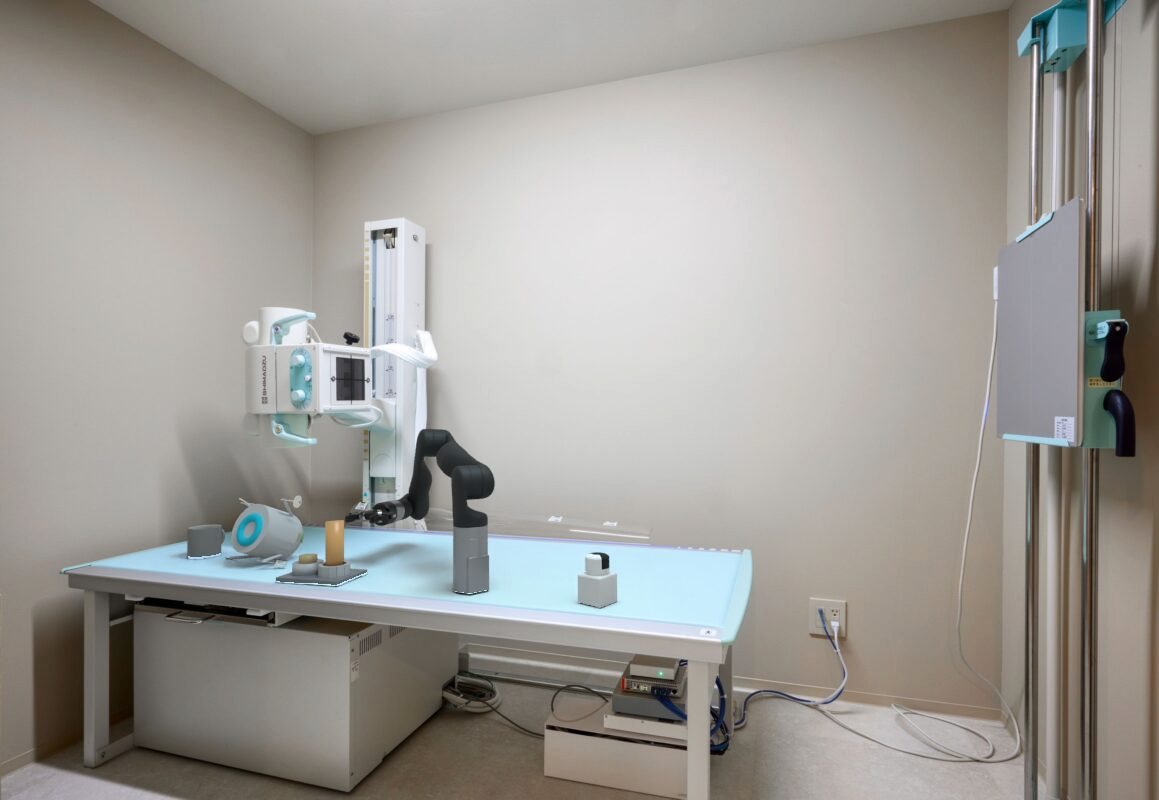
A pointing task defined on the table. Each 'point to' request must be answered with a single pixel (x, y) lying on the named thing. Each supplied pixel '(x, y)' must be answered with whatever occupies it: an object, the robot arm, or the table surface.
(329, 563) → the cylinder
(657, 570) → the table surface
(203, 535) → the coffee mug
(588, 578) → the medicine bottle
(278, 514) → the satellite
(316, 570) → the housing
